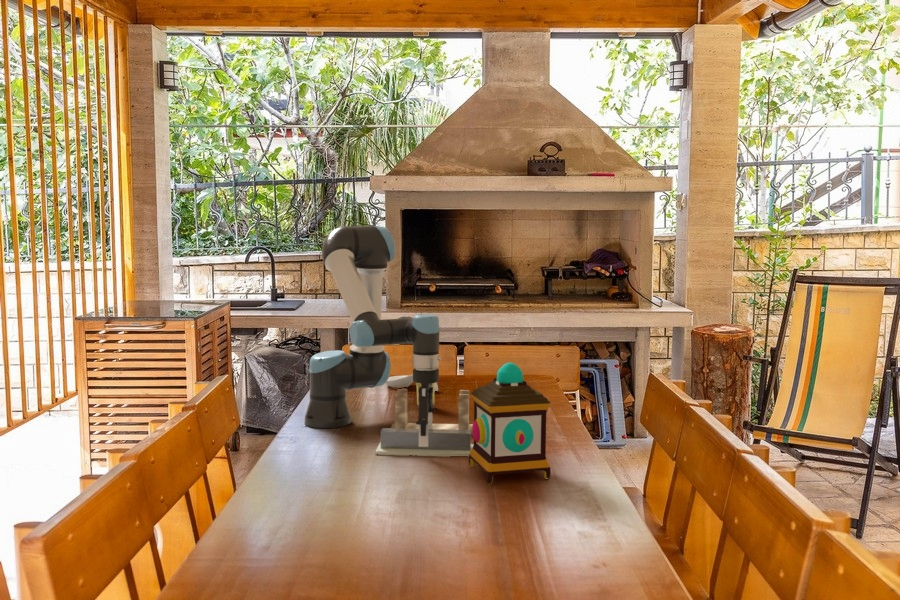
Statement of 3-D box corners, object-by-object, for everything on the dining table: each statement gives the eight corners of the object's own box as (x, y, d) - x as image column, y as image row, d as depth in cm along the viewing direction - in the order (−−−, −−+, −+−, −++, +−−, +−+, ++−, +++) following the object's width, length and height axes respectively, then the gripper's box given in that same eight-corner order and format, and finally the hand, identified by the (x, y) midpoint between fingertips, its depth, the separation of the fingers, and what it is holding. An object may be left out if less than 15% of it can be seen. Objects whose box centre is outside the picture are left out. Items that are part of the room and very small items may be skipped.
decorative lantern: (484, 487, 215) (485, 370, 212) (462, 465, 234) (463, 357, 231) (557, 481, 220) (560, 367, 217) (530, 460, 239) (532, 354, 236)
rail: (380, 448, 246) (380, 431, 245) (382, 444, 250) (382, 428, 249) (470, 450, 244) (470, 433, 244) (470, 446, 248) (470, 430, 248)
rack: (390, 431, 268) (390, 393, 267) (393, 426, 275) (393, 388, 274) (472, 433, 267) (473, 395, 265) (473, 428, 274) (473, 390, 273)
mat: (375, 454, 243) (375, 451, 243) (380, 445, 253) (380, 441, 253) (473, 457, 241) (473, 453, 241) (474, 447, 251) (474, 444, 251)
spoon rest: (377, 388, 336) (377, 370, 335) (395, 383, 346) (395, 365, 345) (427, 395, 323) (427, 376, 323) (444, 390, 333) (444, 372, 332)
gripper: (435, 376, 232) (435, 452, 234) (442, 360, 257) (441, 429, 259) (408, 376, 233) (408, 451, 235) (417, 360, 257) (417, 428, 259)
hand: (425, 440), depth 247 cm, fingers open, 13 cm apart
